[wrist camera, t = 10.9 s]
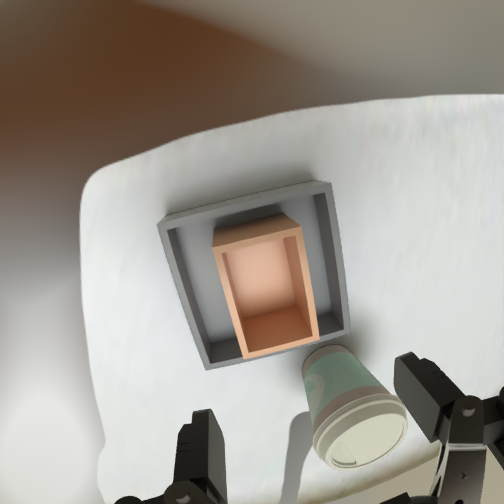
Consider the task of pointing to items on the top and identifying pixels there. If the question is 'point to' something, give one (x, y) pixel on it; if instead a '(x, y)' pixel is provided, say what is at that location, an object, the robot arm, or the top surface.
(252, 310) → the small crate
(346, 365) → the coffee cup
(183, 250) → the big crate
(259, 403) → the top surface
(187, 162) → the top surface
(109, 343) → the top surface
